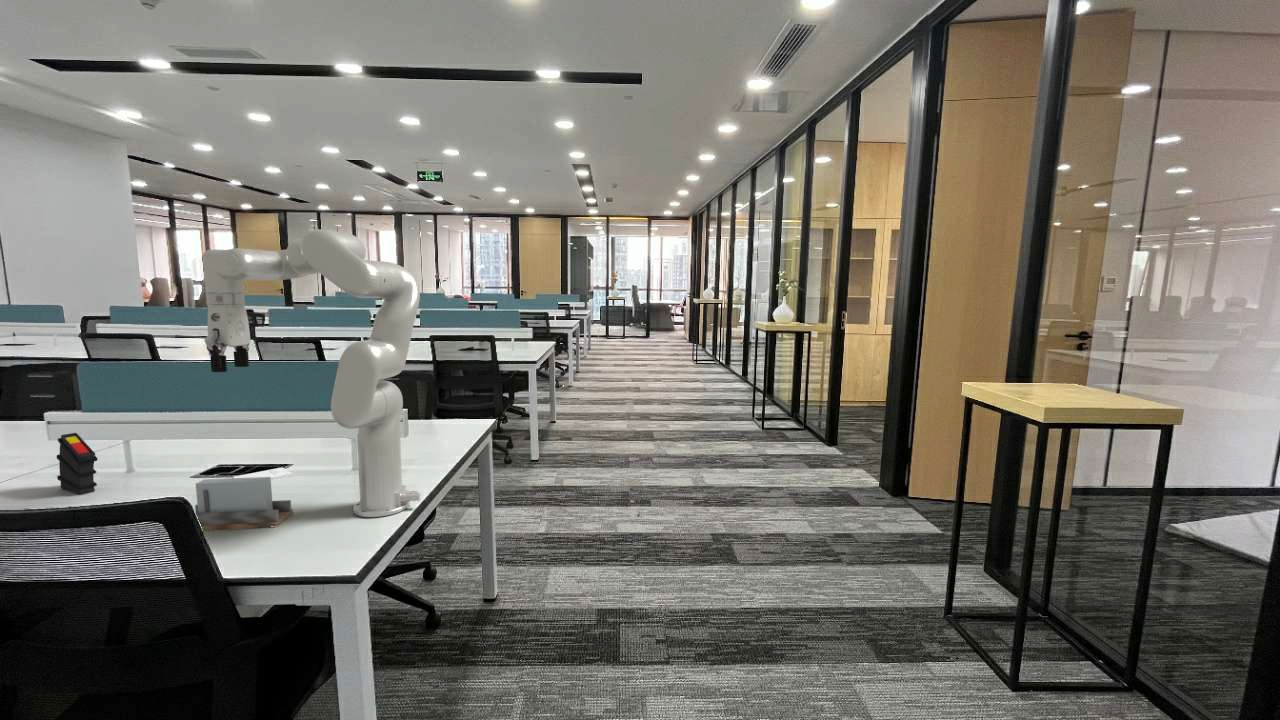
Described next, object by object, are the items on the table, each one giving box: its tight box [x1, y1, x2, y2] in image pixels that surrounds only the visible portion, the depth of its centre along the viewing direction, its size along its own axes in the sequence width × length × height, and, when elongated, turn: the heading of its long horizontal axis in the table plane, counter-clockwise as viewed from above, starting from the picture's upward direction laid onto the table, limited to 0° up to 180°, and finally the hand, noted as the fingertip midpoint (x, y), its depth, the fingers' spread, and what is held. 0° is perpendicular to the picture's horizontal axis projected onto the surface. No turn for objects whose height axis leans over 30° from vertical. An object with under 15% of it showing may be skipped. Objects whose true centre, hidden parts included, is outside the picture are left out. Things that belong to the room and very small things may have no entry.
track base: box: [194, 499, 294, 531], centre depth 128 cm, size 20×8×4 cm, turn 98°
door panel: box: [195, 477, 273, 513], centre depth 127 cm, size 14×3×9 cm, turn 99°
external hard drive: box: [231, 466, 293, 481], centre depth 159 cm, size 2×8×12 cm
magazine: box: [56, 432, 98, 495], centre depth 147 cm, size 4×13×15 cm, turn 65°
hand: (231, 369), depth 140 cm, fingers open, 9 cm apart
